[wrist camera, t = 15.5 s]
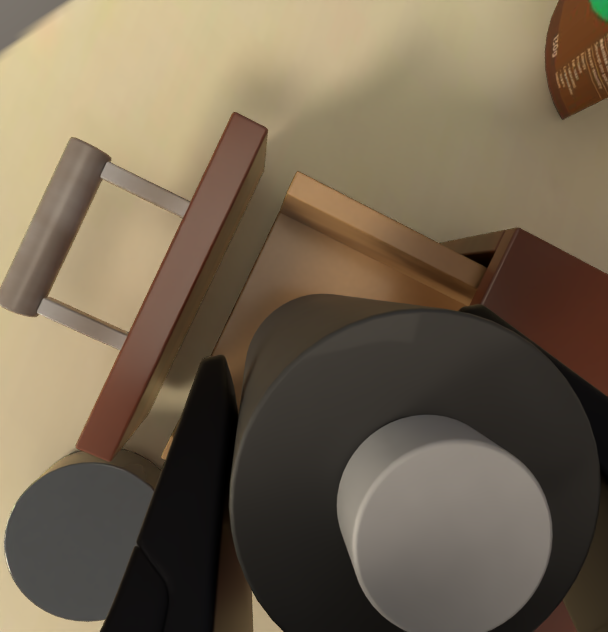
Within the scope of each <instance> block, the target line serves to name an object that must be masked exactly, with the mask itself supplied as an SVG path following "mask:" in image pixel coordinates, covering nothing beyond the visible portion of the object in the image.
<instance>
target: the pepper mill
mask: <svg viewBox="0 0 608 632" xmlns="http://www.w3.org/2000/svg"><path fill="white" fill-rule="evenodd" d="M600 494H601V482H600V464H599V458H598V452H597V446H596V442H595V438H594V435H593V432H592V429H591V425H590V422H589V420H588V417H587V415H586V413H585V411H584V409H583V407H582V404H581V402H580V400H579V398H578V397H577V395H576V394H575V392H574V390H573V389H572V387H571V386H570V384H569V383H568V381H567V379H566V378H565V377H564V376H563V374H562V373H561V372H560V371H559V370H558V368H557V367H556V366H555V365H554V364H553V363H552V361H551V360H550V359H549V358H547V357H546V356H545V355H544V354H543V353H542V352H541V351H540V350H539V349H537V348H536V347H535V346H534V345H533V344H531V343H530V342H529V341H527V340H526V339H524V338H523V337H521V336H520V335H518V334H517V333H515V332H514V331H512V330H510V329H508V328H506V327H504V326H502V325H500V324H498V323H496V322H494V321H491V320H488V319H485V318H482V317H479V316H476V315H473V314H470V313H465V312H460V311H455V310H449V309H443V308H436V307H428V306H420V305H413V304H405V303H397V302H389V301H382V300H374V299H366V298H359V297H351V296H343V295H336V294H311V295H306V296H301V297H299V298H296V299H293V300H291V301H289V302H287V303H285V304H283V305H282V306H280V307H279V308H277V309H276V310H274V311H273V312H272V313H271V314H270V315H269V316H268V317H267V318H266V319H265V320H264V321H263V322H262V324H261V325H260V326H259V328H258V329H257V331H256V332H255V334H254V336H253V338H252V340H251V342H250V345H249V348H248V351H247V356H246V361H245V368H244V376H243V384H242V392H241V400H240V408H239V416H238V424H237V432H236V440H235V447H234V455H233V463H232V471H231V479H230V496H229V513H230V524H231V533H232V537H233V542H234V546H235V551H236V555H237V558H238V561H239V563H240V566H241V568H242V571H243V574H244V576H245V579H246V581H247V582H248V584H249V586H250V588H251V590H252V592H253V593H254V595H255V597H256V599H257V600H258V602H259V603H260V604H261V606H262V607H263V609H264V610H265V611H266V613H267V614H268V615H269V617H270V618H271V619H272V620H273V621H274V622H275V623H276V624H277V625H278V626H279V627H280V628H281V629H282V630H283V631H284V632H534V631H535V630H536V629H537V628H538V627H539V626H540V625H541V624H542V623H543V622H544V621H545V620H546V619H547V618H548V617H549V616H550V615H551V614H552V612H553V611H554V610H555V609H556V608H557V606H558V605H559V604H560V603H561V602H562V600H563V599H564V597H565V596H566V594H567V593H568V591H569V590H570V588H571V586H572V585H573V583H574V582H575V580H576V578H577V576H578V574H579V572H580V570H581V568H582V566H583V564H584V562H585V560H586V557H587V555H588V552H589V549H590V546H591V543H592V540H593V537H594V533H595V529H596V524H597V519H598V515H599V505H600Z"/></svg>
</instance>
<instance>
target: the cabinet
mask: <svg viewBox="0 0 608 632" xmlns="http://www.w3.org/2000/svg"><path fill="white" fill-rule="evenodd" d="M440 244H442V245H444V246H446V247H448V248H449V249H451V250H453V251H455V252H457V253H459V254H461V255H463V256H465V257H467V258H469V259H471V260H473V261H475V262H477V263H479V264H481V265H483V266H485V267H487V270H486V272H485V274H484V276H483V278H482V281H481V283H480V285H479V287H478V289H477V291H476V293H475V295H474V297H473V299H472V301H471V303H470V305H475V304H482V305H484V306H486V307H487V308H488V309H490V310H491V311H493V312H494V313H495V314H497V315H498V316H499V317H501V318H502V319H503V320H505V321H506V322H507V323H509V324H510V325H512V326H513V327H514V328H516V329H517V330H518V331H520V332H521V333H522V334H524V335H525V336H526V337H528V338H529V339H531V340H532V341H533V342H535V343H536V344H537V345H539V346H540V347H541V348H543V349H544V350H545V351H547V352H548V353H549V354H551V355H552V356H554V357H555V358H556V359H558V360H559V361H560V362H562V363H563V364H564V365H566V366H567V367H568V368H570V369H571V370H573V371H574V372H575V373H577V374H578V375H579V376H581V377H582V378H583V379H585V380H586V381H587V382H589V383H590V384H592V385H593V386H594V387H596V388H597V389H598V390H600V391H601V392H602V393H604V394H605V395H606V396H608V274H606V273H604V272H602V271H601V270H599V269H597V268H595V267H593V266H591V265H589V264H587V263H585V262H583V261H582V260H580V259H578V258H576V257H574V256H572V255H570V254H568V253H566V252H564V251H563V250H561V249H559V248H557V247H555V246H553V245H551V244H549V243H547V242H545V241H544V240H542V239H540V238H538V237H536V236H534V235H532V234H530V233H528V232H526V231H525V230H523V229H521V228H512V229H507V230H501V231H496V232H491V233H486V234H482V235H477V236H472V237H467V238H462V239H457V240H452V241H447V242H442V243H440ZM470 305H469V306H470ZM534 632H577V630H576V628H575V626H574V624H573V622H572V619H571V617H570V615H569V613H568V611H567V609H566V607H565V604H564V602H563V600H562V602H561V603H560V604H559V605H558V606H557V608H556V609H555V610H554V611H553V612H552V614H551V615H550V616H549V617H548V618H547V619H546V620H545V621H544V622H543V623H542V624H541V625H540V626H539V627H538V628H537V629H536V630H535V631H534Z"/></svg>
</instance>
